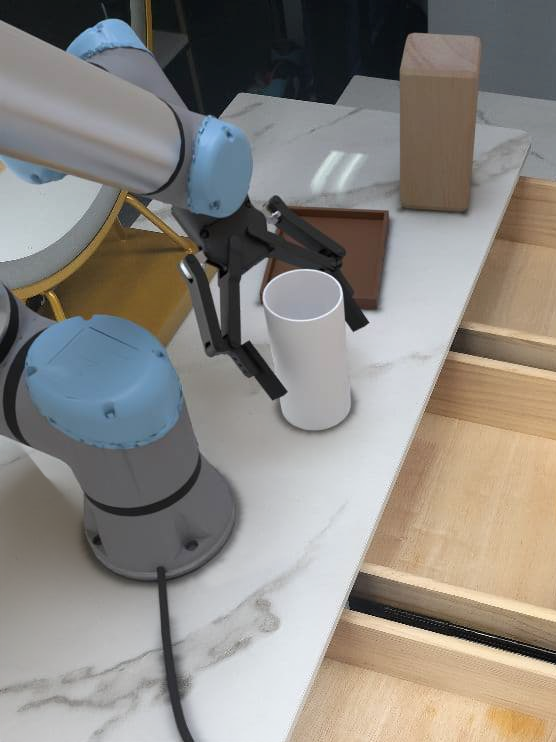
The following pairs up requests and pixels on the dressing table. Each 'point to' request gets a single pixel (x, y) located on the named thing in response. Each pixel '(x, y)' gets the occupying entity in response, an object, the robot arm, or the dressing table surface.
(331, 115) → the dressing table surface
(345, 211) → the tray
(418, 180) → the wooden block
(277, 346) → the cup
